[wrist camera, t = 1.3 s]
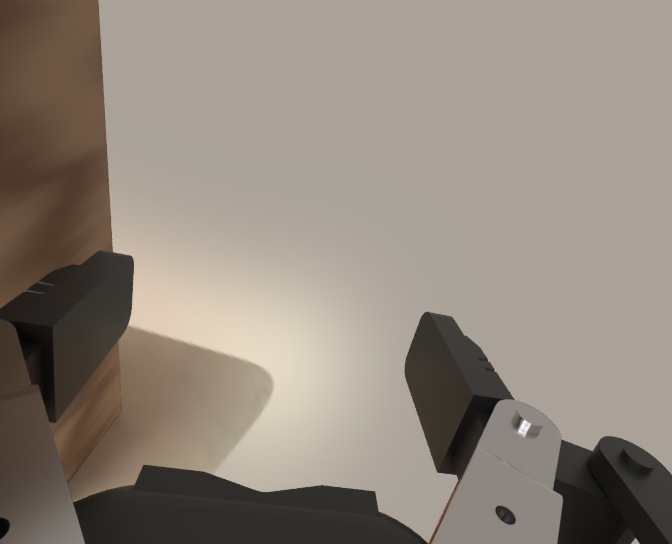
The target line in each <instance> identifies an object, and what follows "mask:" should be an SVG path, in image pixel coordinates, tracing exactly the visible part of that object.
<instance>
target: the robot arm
mask: <svg viewBox="0 0 672 544" xmlns="http://www.w3.org/2000/svg"><path fill="white" fill-rule="evenodd" d="M133 274H134V261H133V258H132V256H129V255H124V254H118V253H114V252H108V251H103V250H99V251H97V252H96V253H95V254H93V255H92V256H91V257H90V258H88V259H87V260H86V261H84V262H83V263H82V264H81V265H75V264H72V265H69V266H66V267H63V268H60V269H57V270H54V271H52V272H50V273H49V274H47V275H46V276H45V277H43V278H42V279H41V280H39V281H38V283H35V284H34V285H32V286H31V287H29V288H28V289H27V291H26V292H22V293H21V294H20V295H18V296H17V297H16V298H14V299H13V300H11V301H10V302H9V303H7V304H6V305H4V306H3V307H2V308H0V544H631V543H632V542H633V540H634V539H635V538H636V539H637V540H638V542H639V543H640V544H672V475H671V474H670V472H669V471H668V470H667V469H666V468H665V467H664V466H663V465H662V464H661V463H660V462H659V461H658V460H657V459H656V458H654V457H653V456H652V455H651V454H649V453H648V452H646V451H645V450H643V449H642V448H640V447H638V446H637V445H635V444H633V443H631V442H629V441H626V440H623V439H621V438H617V437H611V436H606V437H603V438H601V439H600V441H599V442H598V444H597V445H596V447H595V449H594V450H593V451H590V450H588V449H585V448H582V447H580V446H577V445H574V444H572V443H569V442H566V441H564V440H561V434H560V432H559V430H558V428H557V427H556V425H555V424H554V423H553V422H552V421H551V420H550V419H549V418H548V417H547V416H546V415H544V414H543V413H542V412H540V411H539V410H537V409H535V408H534V407H532V406H530V405H528V404H525V403H523V402H520V401H516V400H514V398H513V397H512V395H511V394H510V392H509V391H508V389H507V388H506V386H505V385H504V383H503V382H502V380H501V379H500V377H499V376H498V374H497V373H496V372H494V368H493V366H492V365H491V363H490V362H488V359H487V357H486V356H485V354H484V353H483V351H482V350H481V348H480V347H479V346H478V345H476V344H475V343H474V342H473V341H472V340H471V339H469V338H468V337H467V336H464V335H463V333H462V331H461V330H460V328H459V327H458V325H457V323H456V322H455V320H454V319H453V318H452V317H451V316H446V315H441V314H435V313H430V312H425V313H424V314H423V315H422V317H421V319H420V322H419V325H418V327H417V330H416V333H415V335H414V338H413V341H412V343H411V346H410V349H409V352H408V354H407V357H406V362H405V377H406V381H407V384H408V387H409V390H410V393H411V396H412V399H413V402H414V404H415V408H416V411H417V414H418V416H419V420H420V422H421V425H422V428H423V431H424V434H425V437H426V440H427V443H428V446H429V449H430V452H431V455H432V458H433V461H434V464H435V467H436V470H437V472H438V473H445V474H453V475H457V477H458V480H459V481H458V483H457V485H456V486H455V488H454V491H453V493H452V495H451V497H450V499H449V501H448V503H447V505H446V507H445V510H444V512H443V514H442V516H441V518H440V520H439V522H438V524H437V526H436V528H435V531H434V533H433V534H432V537H431V539H430V541H429V543H427V542H426V541H424V539H423V538H421V536H419V535H418V534H417V533H415V532H414V531H413V530H411V529H410V528H409V527H407V526H406V525H404V524H402V523H401V522H399V521H398V520H396V519H394V518H392V517H390V516H388V515H386V514H383V513H381V512H378V506H377V500H376V494H375V491H366V490H358V489H349V488H340V487H331V486H323V485H321V486H314V487H305V488H297V489H289V490H281V491H274V492H260V491H256V490H253V489H250V488H248V487H245V486H242V485H239V484H236V483H234V482H231V481H228V480H225V479H223V478H220V477H217V476H214V475H212V474H209V473H206V472H201V471H193V470H184V469H175V468H167V467H158V466H149V465H143V467H142V469H141V472H140V474H139V476H138V479H137V481H136V483H135V485H130V486H123V487H119V488H114V489H110V490H106V491H103V492H100V493H97V494H93V495H91V496H88V497H86V498H83V499H81V500H79V501H76V502H74V503H73V501H72V498H71V494H70V491H69V488H68V484H67V481H66V477H65V474H64V471H63V467H62V464H61V460H60V457H59V454H58V450H57V447H56V443H55V440H54V437H53V433H52V430H51V426H50V423H49V422H51V423H56V422H57V421H58V420H59V418H60V417H61V416H62V414H63V413H64V412H65V410H66V409H67V408H68V406H69V405H70V404H71V402H72V401H73V400H74V398H75V397H76V396H77V394H78V393H79V392H80V390H81V389H82V388H83V386H84V385H85V384H86V382H87V381H88V380H89V378H90V377H91V376H92V374H93V373H94V372H95V370H96V369H97V368H98V366H99V365H100V364H101V362H102V361H103V360H104V358H105V357H106V356H107V354H108V353H109V352H110V350H111V349H112V348H113V346H114V345H115V344H116V342H117V341H118V340H119V338H120V337H121V336H122V334H123V333H124V331H125V330H126V328H127V326H128V323H129V320H130V316H131V310H132V292H133Z"/></svg>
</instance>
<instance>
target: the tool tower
mask: <svg viewBox="0 0 672 544" xmlns="http://www.w3.org/2000/svg"><path fill="white" fill-rule="evenodd" d="M104 109H105V108H104V92H103V73H102V57H101V39H100V22H99V5H98V0H0V308H2V307H3V306H4V305H6V304H7V303H9V302H10V301H11V300H13V299H14V298H16V297H17V296H18V295H20V294H21V293H22V292H26V291H27V289H28V288H29V287H31V286H32V285H34V284H35V283H38V281H39V280H41V279H42V278H43V277H45V276H46V275H47V274H49V273H50V272H52V271H54V270H57V269H60V268H63V267H66V266H69V265H72V264H75V265H81V264H82V263H83V262H84V261H86V260H87V259H88V258H90V257H91V256H92V255H93V254H95V253H96V252H97V251H99V250H103V251H108V252H113V249H112V231H111V213H110V195H109V178H108V161H107V144H106V127H105V110H104ZM121 410H122V405H121V387H120V370H119V352H118V341H117V342H116V344H115V345H114V346H113V348H112V349H111V350H110V352H109V353H108V354H107V356H106V357H105V358H104V360H103V361H102V362H101V364H100V365H99V366H98V368H97V369H96V370H95V372H94V373H93V374H92V376H91V377H90V378H89V380H88V381H87V382H86V384H85V385H84V386H83V388H82V389H81V390H80V392H79V393H78V394H77V396H76V397H75V398H74V400H73V401H72V402H71V404H70V405H69V406H68V408H67V409H66V410H65V412H64V413H63V414H62V416H61V417H60V418H59V420H58V421H57V422H56V423H51V422H49V423H50V426H51V430H52V433H53V437H54V440H55V443H56V447H57V450H58V454H59V457H60V460H61V464H62V467H63V471H64V474H65V477H66V481H67V484H68V482H69V481H70V479H71V478H72V477H73V475H74V474H75V473H76V471H77V470H78V469H79V467H80V466H81V464H82V463H83V462H84V460H85V459H86V458H87V456H88V455H89V454H90V452H91V451H92V449H93V448H94V447H95V445H96V444H97V443H98V441H99V440H100V439H101V437H102V436H103V434H104V433H105V432H106V430H107V429H108V428H109V426H110V425H111V423H112V422H113V421H114V419H115V418H116V417H117V415H118V414H119V413H120V411H121Z"/></svg>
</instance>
